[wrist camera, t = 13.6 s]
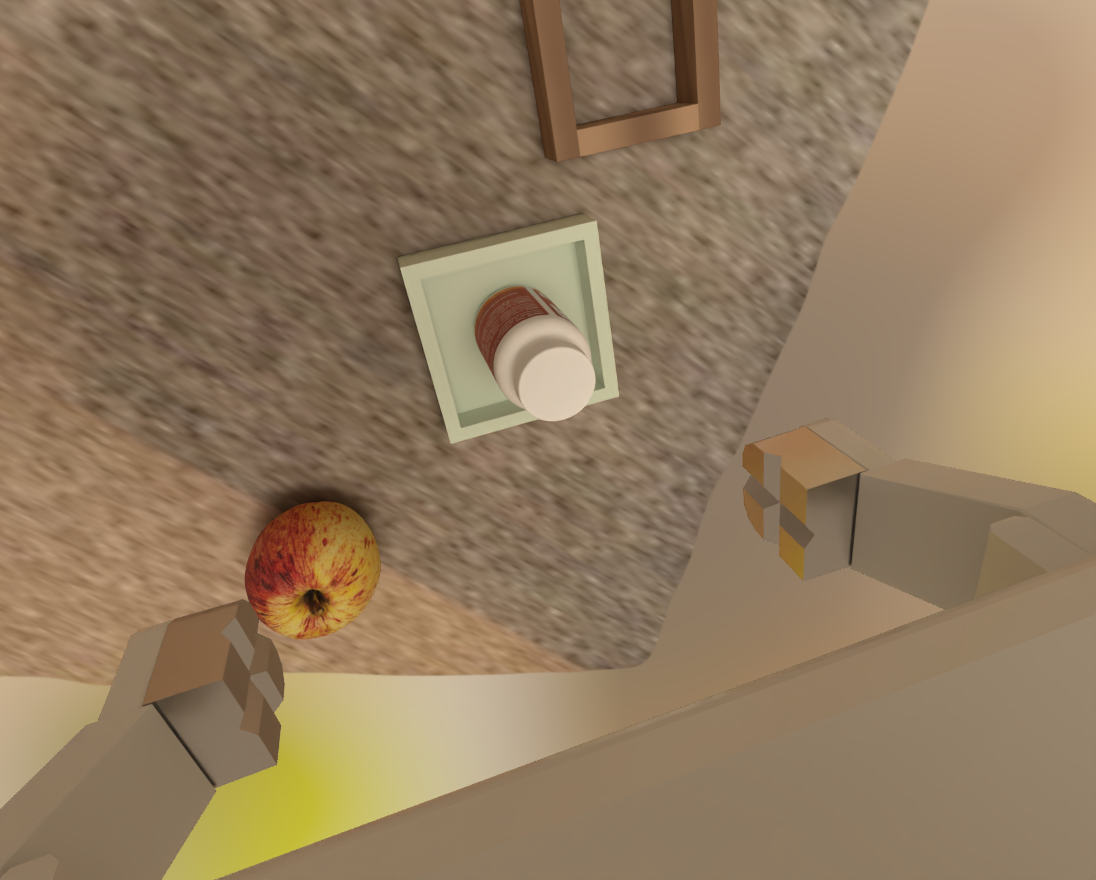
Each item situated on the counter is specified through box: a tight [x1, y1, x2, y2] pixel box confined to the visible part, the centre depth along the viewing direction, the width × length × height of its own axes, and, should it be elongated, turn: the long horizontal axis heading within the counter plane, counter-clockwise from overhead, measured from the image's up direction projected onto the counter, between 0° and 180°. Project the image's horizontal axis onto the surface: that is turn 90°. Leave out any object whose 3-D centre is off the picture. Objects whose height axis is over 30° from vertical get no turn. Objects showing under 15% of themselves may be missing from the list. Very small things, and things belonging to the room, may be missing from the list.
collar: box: [520, 0, 721, 162], centre depth 39 cm, size 11×11×3 cm
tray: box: [397, 213, 619, 444], centre depth 46 cm, size 13×13×3 cm
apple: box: [245, 501, 381, 639], centre depth 47 cm, size 9×9×10 cm
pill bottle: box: [474, 286, 595, 421], centre depth 42 cm, size 6×6×11 cm
